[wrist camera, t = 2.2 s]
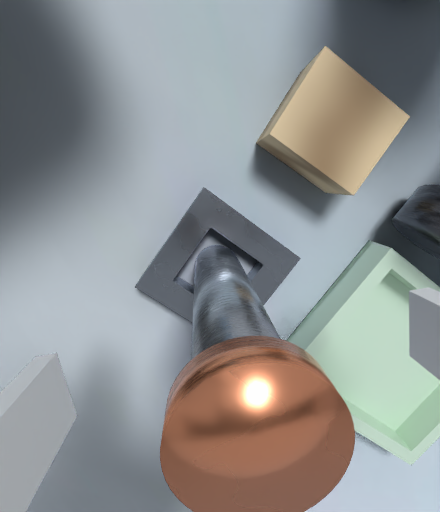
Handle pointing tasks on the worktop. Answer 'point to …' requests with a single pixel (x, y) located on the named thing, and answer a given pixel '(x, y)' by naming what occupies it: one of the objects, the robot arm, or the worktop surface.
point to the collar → (188, 238)
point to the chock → (332, 125)
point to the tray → (375, 351)
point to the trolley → (421, 219)
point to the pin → (249, 407)
